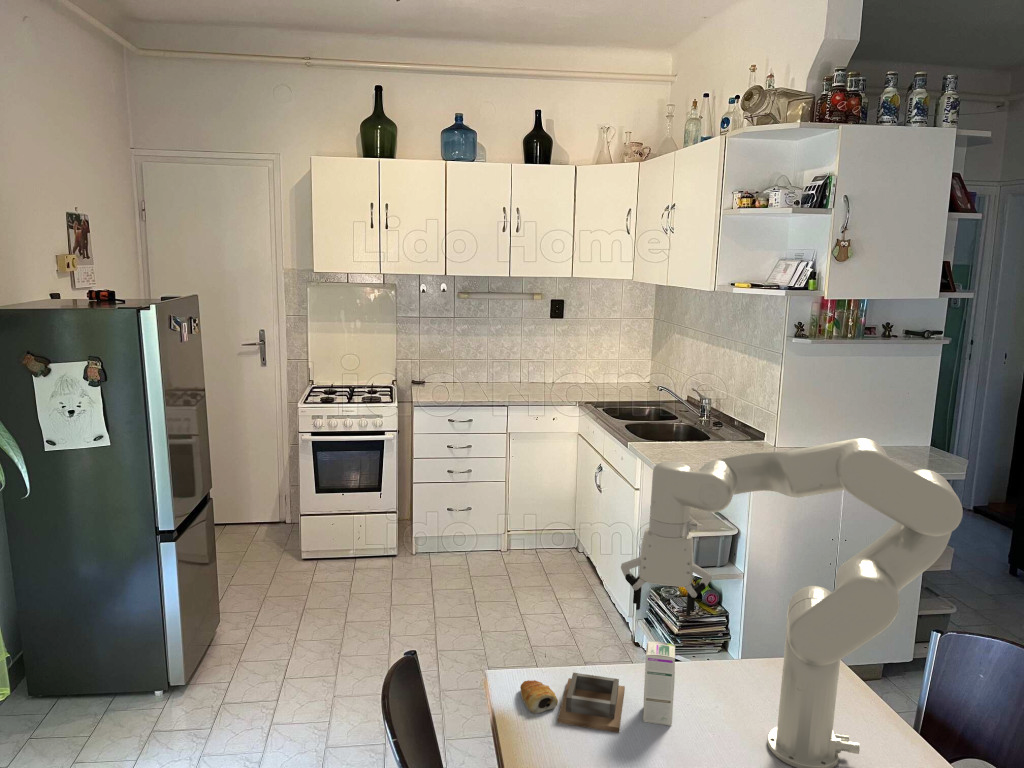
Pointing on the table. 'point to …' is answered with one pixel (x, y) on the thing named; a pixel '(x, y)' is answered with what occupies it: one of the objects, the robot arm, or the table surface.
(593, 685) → the socket stand
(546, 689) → the pastry
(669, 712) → the syrup box
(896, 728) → the table surface
